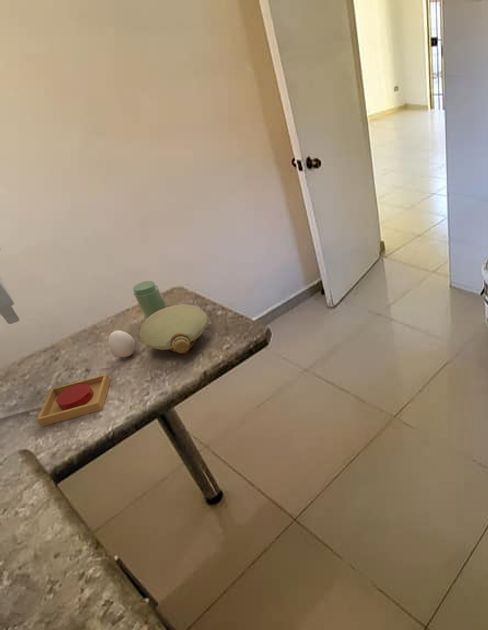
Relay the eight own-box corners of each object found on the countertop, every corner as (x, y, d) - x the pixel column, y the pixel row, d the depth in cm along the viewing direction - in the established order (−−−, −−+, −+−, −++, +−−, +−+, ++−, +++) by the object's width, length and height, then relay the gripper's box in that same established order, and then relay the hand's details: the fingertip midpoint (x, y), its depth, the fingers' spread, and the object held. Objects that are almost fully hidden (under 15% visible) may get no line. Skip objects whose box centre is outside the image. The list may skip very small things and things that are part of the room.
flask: (207, 317, 121) (223, 351, 109) (144, 339, 114) (155, 378, 102) (195, 289, 115) (211, 322, 103) (129, 311, 109) (138, 349, 96)
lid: (96, 386, 99) (92, 380, 98) (90, 405, 94) (86, 399, 93) (64, 395, 98) (60, 389, 96) (56, 414, 93) (52, 408, 92)
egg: (140, 357, 108) (126, 333, 104) (116, 364, 106) (101, 341, 102) (139, 346, 112) (127, 323, 108) (116, 353, 110) (102, 330, 106)
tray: (42, 426, 91) (36, 419, 89) (56, 394, 99) (50, 388, 97) (102, 409, 94) (97, 402, 93) (111, 380, 102) (106, 373, 100)
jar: (147, 326, 120) (130, 293, 114) (148, 315, 124) (131, 283, 118) (170, 319, 122) (155, 287, 116) (170, 309, 126) (155, 277, 120)
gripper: (-5, 257, 73) (40, 324, 81) (-21, 230, 85) (20, 290, 93) (-55, 271, 69) (-3, 340, 77) (-64, 240, 81) (-18, 303, 89)
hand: (9, 313), depth 85 cm, fingers open, 8 cm apart
